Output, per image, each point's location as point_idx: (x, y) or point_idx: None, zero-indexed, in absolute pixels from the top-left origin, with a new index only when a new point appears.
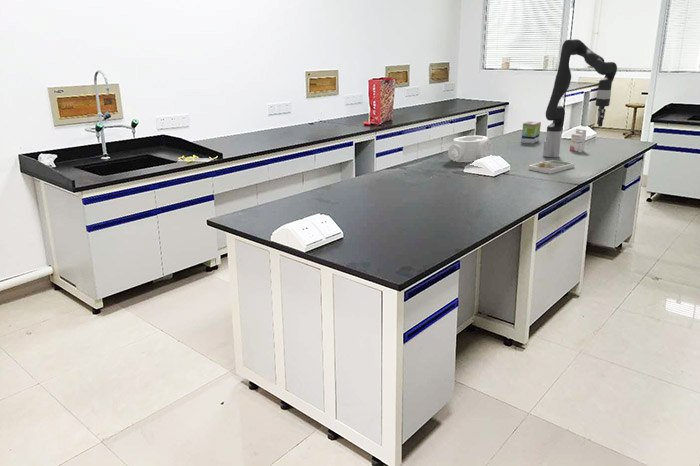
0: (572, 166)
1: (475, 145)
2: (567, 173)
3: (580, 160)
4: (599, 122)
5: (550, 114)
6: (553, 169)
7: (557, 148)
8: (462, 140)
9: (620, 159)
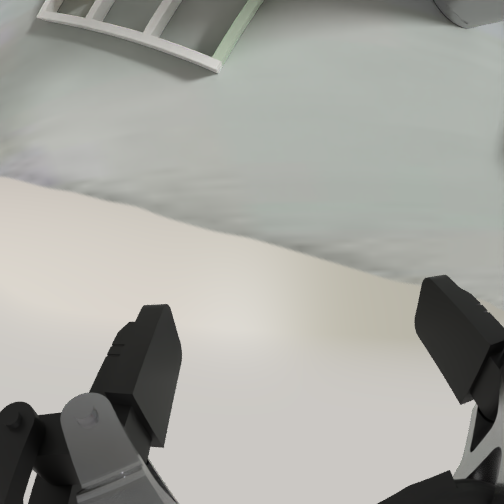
0: (200, 65)
1: None
2: (67, 76)
3: (415, 111)
4: (103, 367)
5: None
6: (52, 20)
7: (468, 2)
8: None
9: None
